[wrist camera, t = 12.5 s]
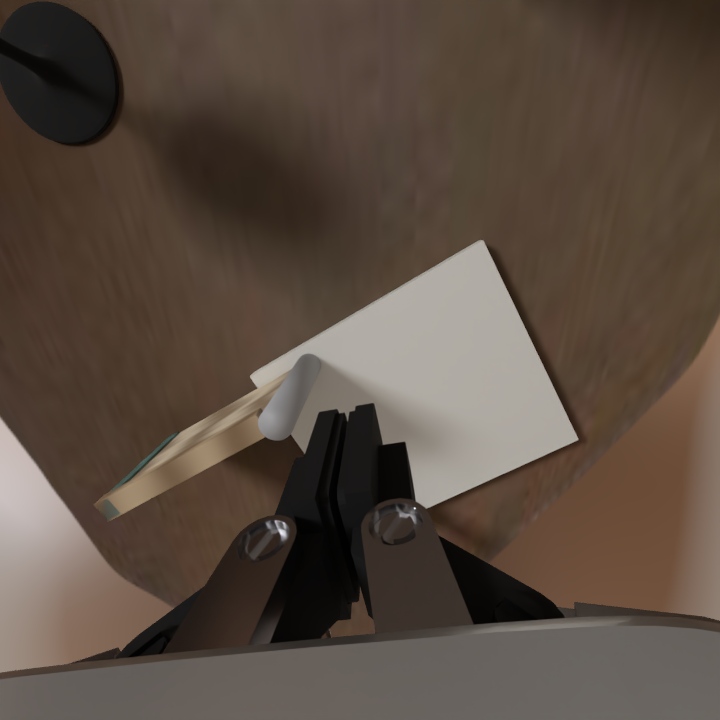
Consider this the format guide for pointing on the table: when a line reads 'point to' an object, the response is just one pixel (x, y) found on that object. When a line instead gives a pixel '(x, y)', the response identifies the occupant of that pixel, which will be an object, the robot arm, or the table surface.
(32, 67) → the wine glass
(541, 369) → the white base with posts
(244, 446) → the beige wavy patterned slab
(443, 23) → the table surface
